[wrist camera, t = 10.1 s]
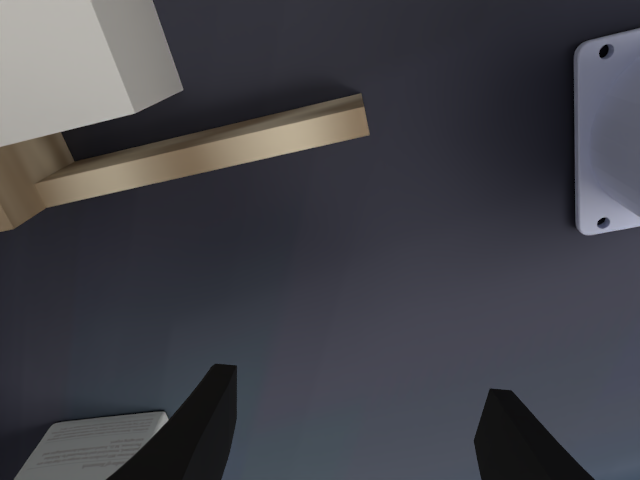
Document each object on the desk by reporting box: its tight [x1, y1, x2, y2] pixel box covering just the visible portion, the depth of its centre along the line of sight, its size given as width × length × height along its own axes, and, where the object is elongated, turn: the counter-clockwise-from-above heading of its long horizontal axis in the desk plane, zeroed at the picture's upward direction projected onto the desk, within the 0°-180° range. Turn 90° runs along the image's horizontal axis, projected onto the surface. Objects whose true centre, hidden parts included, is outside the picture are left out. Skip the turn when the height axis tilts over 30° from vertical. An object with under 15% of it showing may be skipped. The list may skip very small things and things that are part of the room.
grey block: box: [0, 0, 183, 147], centre depth 16 cm, size 5×5×5 cm
